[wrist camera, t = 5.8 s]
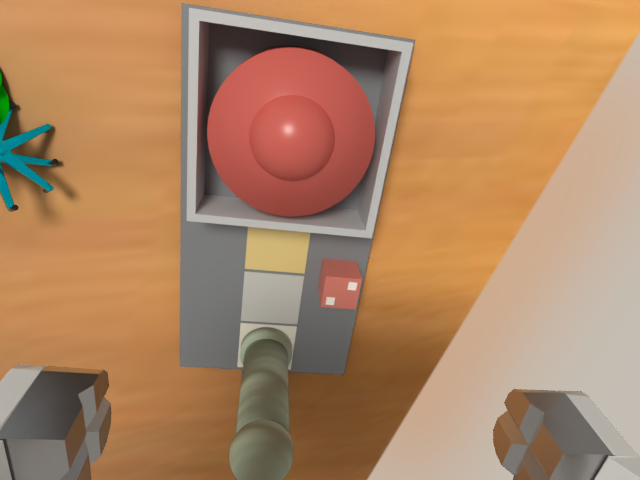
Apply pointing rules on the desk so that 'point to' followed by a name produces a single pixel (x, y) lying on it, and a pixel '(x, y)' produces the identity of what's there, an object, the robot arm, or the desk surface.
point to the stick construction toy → (3, 109)
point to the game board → (267, 229)
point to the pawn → (263, 408)
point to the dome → (291, 131)
